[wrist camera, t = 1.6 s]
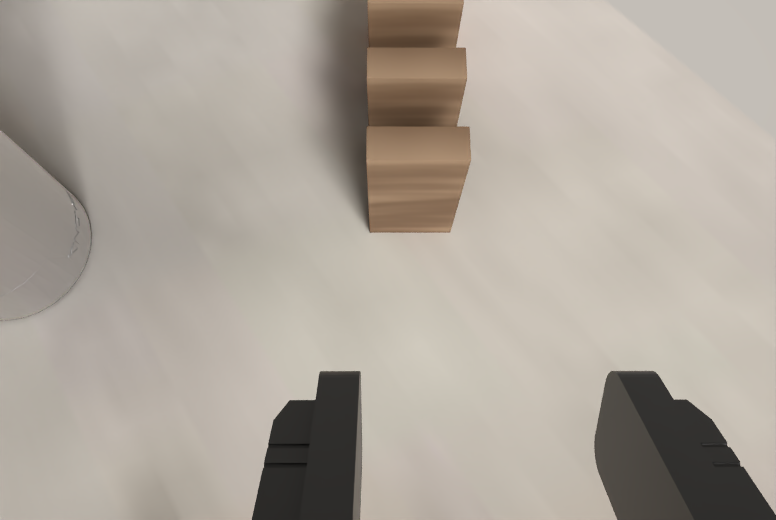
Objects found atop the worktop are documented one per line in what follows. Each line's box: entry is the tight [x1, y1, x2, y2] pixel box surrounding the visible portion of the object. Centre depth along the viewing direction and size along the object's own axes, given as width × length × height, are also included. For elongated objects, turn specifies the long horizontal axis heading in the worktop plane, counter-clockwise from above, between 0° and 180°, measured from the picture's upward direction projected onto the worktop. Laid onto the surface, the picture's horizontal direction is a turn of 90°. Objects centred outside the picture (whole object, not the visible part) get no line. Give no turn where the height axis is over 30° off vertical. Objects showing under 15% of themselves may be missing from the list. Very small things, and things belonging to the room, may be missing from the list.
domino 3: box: [366, 126, 471, 232], centre depth 36 cm, size 2×5×10 cm, turn 90°
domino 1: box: [368, 0, 464, 48], centre depth 39 cm, size 2×5×10 cm, turn 90°
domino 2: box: [367, 48, 467, 127], centre depth 38 cm, size 2×5×10 cm, turn 90°
